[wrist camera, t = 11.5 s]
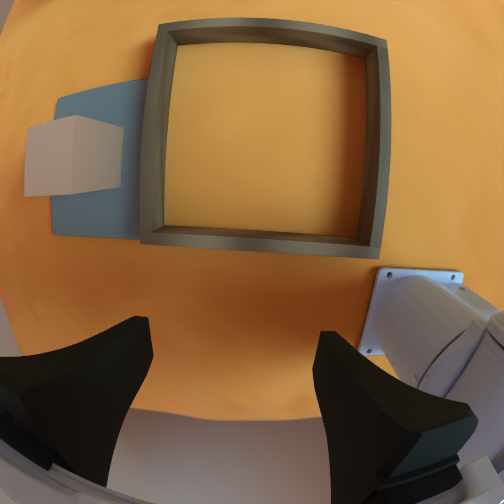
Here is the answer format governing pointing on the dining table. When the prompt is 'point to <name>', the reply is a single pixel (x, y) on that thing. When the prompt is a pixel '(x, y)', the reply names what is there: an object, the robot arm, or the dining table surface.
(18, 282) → the dining table surface
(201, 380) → the dining table surface
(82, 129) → the block
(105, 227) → the mat
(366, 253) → the grey square frame
